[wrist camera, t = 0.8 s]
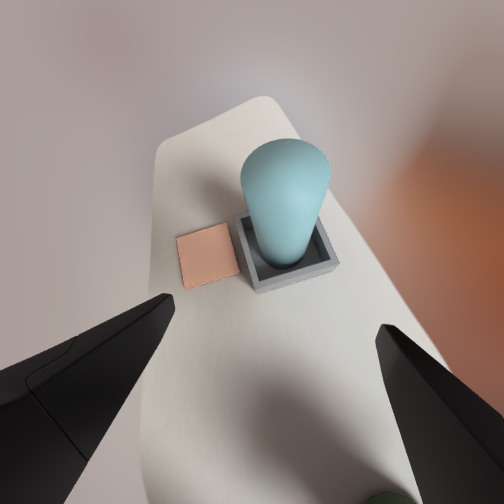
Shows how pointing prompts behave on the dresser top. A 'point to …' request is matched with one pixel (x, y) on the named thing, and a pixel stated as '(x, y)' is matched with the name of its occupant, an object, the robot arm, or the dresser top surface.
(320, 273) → the slate tray
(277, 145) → the teal post
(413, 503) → the character mug
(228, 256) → the terracotta coaster
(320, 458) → the dresser top surface
